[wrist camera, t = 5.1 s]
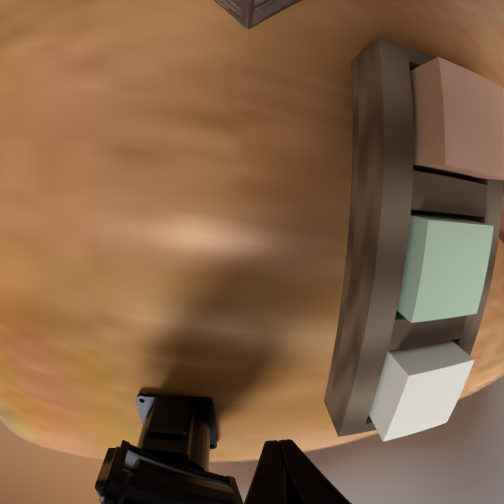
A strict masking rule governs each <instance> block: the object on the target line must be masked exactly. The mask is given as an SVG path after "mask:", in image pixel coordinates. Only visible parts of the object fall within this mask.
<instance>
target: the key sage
mask: <svg viewBox="0 0 504 504" xmlns="http://www.w3.org/2000/svg"><path fill="white" fill-rule="evenodd" d="M493 228H494V226H492V225H488V224H484V223H480V222H476V221H472V220H468V219H464V218H460V217H456V216H450V215H440V214H429V213H418V212H411V214H410V225H409V234H408V243H407V251H406V259H405V266H404V272H403V278H402V285H401V290H400V296H399V301H398V306H397V311H398V312H399V313H400V314H402V315H403V316H404V317H405V318H406V319H407V320H409V321H410V322H411V323H414V322H423V321H431V320H438V319H445V318H452V317H459V316H465V315H472V314H477V311H478V307H479V303H480V299H481V295H482V291H483V286H484V282H485V277H486V272H487V267H488V261H489V256H490V249H491V243H492V236H493Z"/></svg>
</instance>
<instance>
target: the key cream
mask: <svg viewBox="0 0 504 504" xmlns="http://www.w3.org/2000/svg"><path fill="white" fill-rule="evenodd" d="M473 362H474V359H473V358H472V357H471V356H470V355H468V354H467V353H466V352H465V351H464V350H462V349H461V348H460V347H459V346H458V345H457V344H455V343H454V342H453V341H452V340H449V341H444V342H439V343H434V344H428V345H422V346H416V347H410V348H403V349H396V350H389V351H387V355H386V359H385V363H384V366H383V370H382V373H381V377H380V380H379V384H378V387H377V390H376V394H375V397H374V400H373V403H372V406H371V409H370V412H369V416H370V418H371V420H372V422H373V424H374V426H375V427H376V429H377V431H378V433H379V435H380V436H381V438H382V440H383V441H387V440H391V439H395V438H399V437H402V436H406V435H409V434H413V433H416V432H419V431H423V430H426V429H429V428H432V427H435V426H438V425H441V424H444V423H446V422H447V420H448V419H449V417H450V415H451V413H452V411H453V409H454V406H455V405H456V402H457V400H458V398H459V396H460V394H461V391H462V389H463V387H464V384H465V382H466V380H467V377H468V375H469V372H470V370H471V367H472V365H473Z"/></svg>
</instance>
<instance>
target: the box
mask: <svg viewBox="0 0 504 504" xmlns="http://www.w3.org/2000/svg"><path fill="white" fill-rule="evenodd" d="M214 1H216V2H217V3H218V4H219V5H220V6H221V7H223V8H224V9H225V10H226V11H227V12H228V13H229V14H231V15H232V16H233V17H234V18H235V19H236V20H237V21H239V22H240V23H241V24H242V25H243V26H244V27H245V28H246V29H250V28H252V27H253V26H255V25H257V24H258V23H260V22H262V21H264V20H265V19H267V18H269V17H271V16H272V15H274V14H276V13H278V12H280V11H281V10H283V9H285V8H287V7H289V6H291V5H293V4H295V3H297V2H298V1H300V0H214Z"/></svg>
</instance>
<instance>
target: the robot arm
mask: <svg viewBox="0 0 504 504" xmlns="http://www.w3.org/2000/svg"><path fill="white" fill-rule="evenodd" d="M141 398H142V399H144V400H142V399H141ZM136 401H137V405H138V409H139V412H140V416H141V420H142V424H143V428H142V431H141V435H140V438H139V442H138V445H137V447H135V446H133V445H131V444H130V443H129V442H127V441H124V440H123V441H122V443H121V445H120V447H118V446H117V447H116V448H108V451H107V454H106V456H105V459H104V462H103V465H102V467H101V470H100V473H99V476H98V479H97V481H96V485H95V489H96V491H97V492H98V494H99V496H100V498H99V501H100V502H101V504H243V501H242V498H241V495H240V493H239V490H238V487H237V484H236V481H235V478H234V477H231V476H223V475H218V474H215V473H211V472H209V450H210V449H215V448H216V447H217V439H216V425H215V410H214V401H213V399H211V398H205V397H182V396H166V395H154V394H144V393H140V394H138V395H137V398H136ZM206 403H210V404H206ZM211 444H212V445H211ZM244 504H351V503H350V502H349V501H348V500H347V499H346V498H345V497H344V496H343V495H342V494H341V493H340V492H339V491H338V490H337V488H336V487H335V486H334V485H333V484H332V483H331V482H330V481H329V480H328V479H327V478H326V477H325V476H324V475H323V474H322V473H321V472H320V471H319V469H318V468H317V467H316V466H315V465H314V464H313V463H312V462H311V461H310V460H309V459H308V458H307V456H306V455H305V454H304V453H303V452H302V451H301V450H300V448H299V447H298V446H297V445H296V444H295V443H294V442H293V441H292V440H291V439H287V440H279V442H278V441H277V440H273V441H266V442H265V444H264V447H263V450H262V453H261V456H260V459H259V462H258V465H257V468H256V471H255V474H254V477H253V480H252V482H251V485H250V488H249V491H248V494H247V497H246V499H245V502H244Z"/></svg>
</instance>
